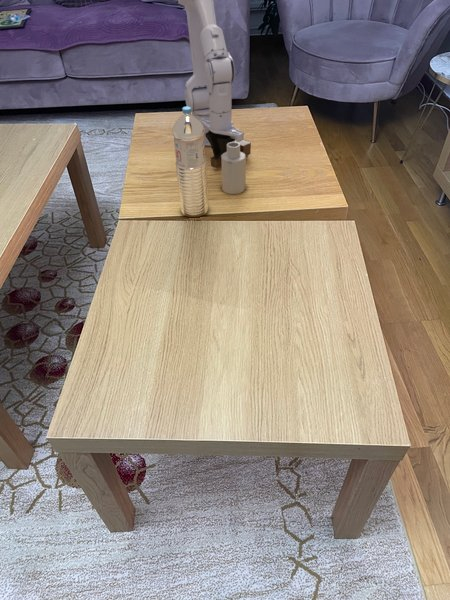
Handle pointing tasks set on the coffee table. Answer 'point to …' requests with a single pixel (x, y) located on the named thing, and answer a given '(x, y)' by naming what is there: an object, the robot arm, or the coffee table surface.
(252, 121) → the coffee table surface
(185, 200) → the water bottle
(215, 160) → the brush
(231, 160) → the silver bottle
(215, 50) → the robot arm
